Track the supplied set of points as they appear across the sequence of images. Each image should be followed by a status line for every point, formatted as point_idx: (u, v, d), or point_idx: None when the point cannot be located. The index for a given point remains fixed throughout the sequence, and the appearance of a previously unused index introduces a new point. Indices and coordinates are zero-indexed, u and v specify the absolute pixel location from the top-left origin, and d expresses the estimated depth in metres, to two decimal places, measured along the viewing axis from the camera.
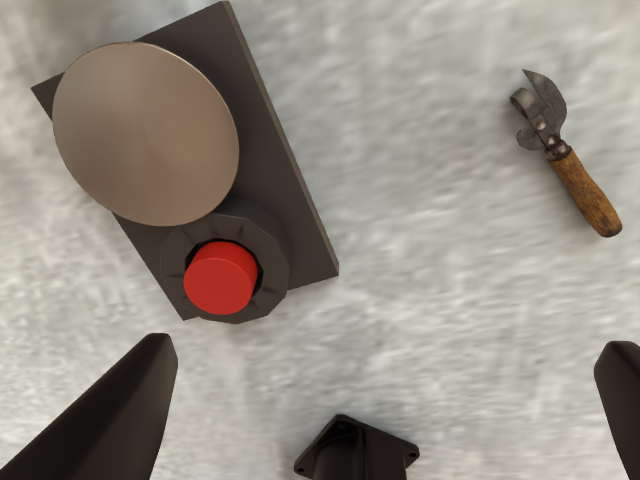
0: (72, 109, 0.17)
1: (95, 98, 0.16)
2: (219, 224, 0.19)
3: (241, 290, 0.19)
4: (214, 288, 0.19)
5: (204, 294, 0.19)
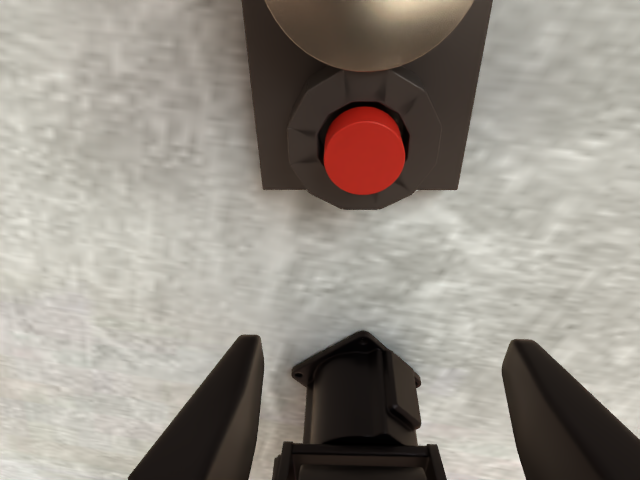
0: None
1: None
2: (391, 87, 0.16)
3: (388, 171, 0.17)
4: (360, 160, 0.16)
5: (345, 163, 0.16)
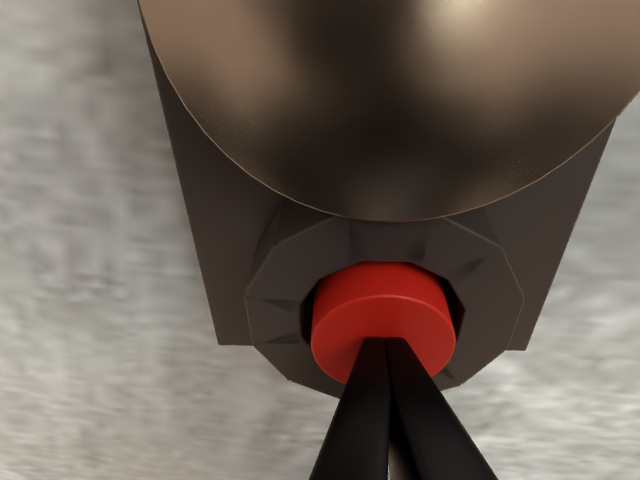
0: None
1: None
2: (438, 241, 0.08)
3: (424, 363, 0.09)
4: None
5: (348, 351, 0.09)
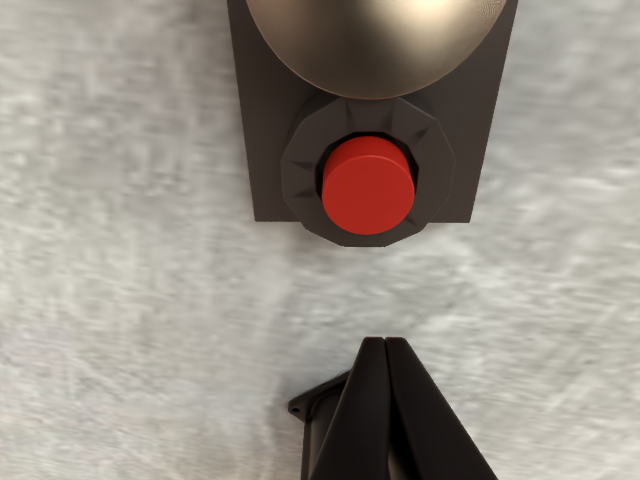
0: None
1: None
2: (399, 115, 0.14)
3: (395, 210, 0.15)
4: (364, 197, 0.14)
5: (346, 201, 0.14)
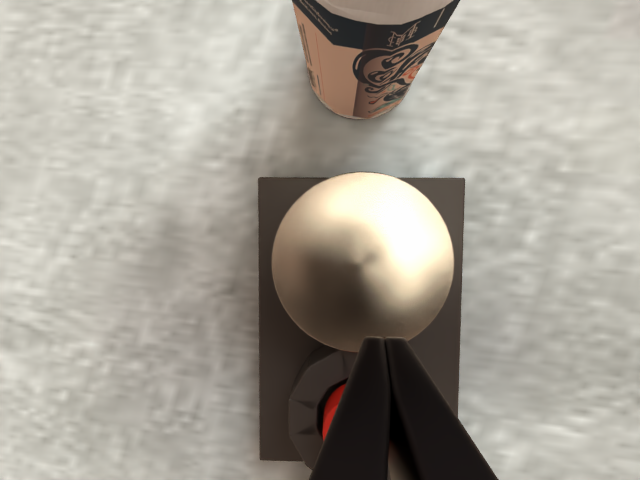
0: (313, 209, 0.17)
1: (339, 209, 0.17)
2: None
3: None
4: None
5: None
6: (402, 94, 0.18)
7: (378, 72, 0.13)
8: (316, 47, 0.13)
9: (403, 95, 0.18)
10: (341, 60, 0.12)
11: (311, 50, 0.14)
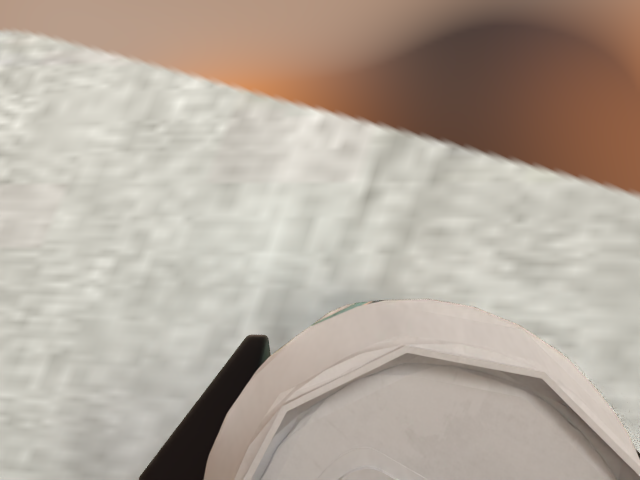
0: None
1: None
2: None
3: None
4: None
5: None
6: None
7: None
8: None
9: None
10: None
11: None
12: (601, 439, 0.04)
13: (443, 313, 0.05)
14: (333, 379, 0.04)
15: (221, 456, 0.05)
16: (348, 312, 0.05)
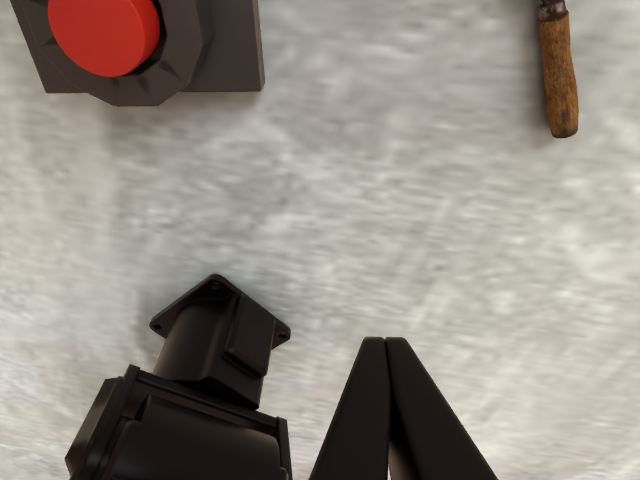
0: None
1: None
2: None
3: (129, 43, 0.14)
4: (91, 28, 0.14)
5: (75, 33, 0.14)
6: None
7: None
8: None
9: None
10: None
11: None
12: None
13: None
14: None
15: None
16: None
